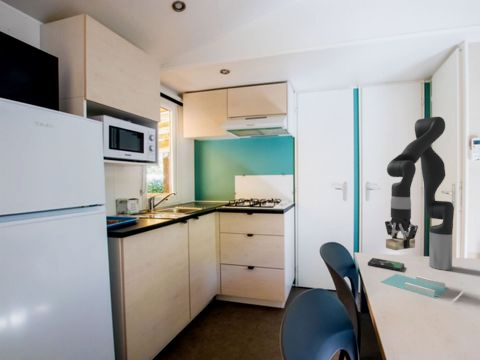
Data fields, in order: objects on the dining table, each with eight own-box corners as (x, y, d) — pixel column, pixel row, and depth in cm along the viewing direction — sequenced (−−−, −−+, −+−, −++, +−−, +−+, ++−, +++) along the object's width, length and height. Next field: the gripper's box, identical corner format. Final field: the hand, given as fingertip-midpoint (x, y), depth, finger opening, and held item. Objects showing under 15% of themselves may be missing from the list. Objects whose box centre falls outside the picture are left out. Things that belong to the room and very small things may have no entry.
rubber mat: (396, 274, 125) (396, 273, 125) (449, 289, 109) (449, 287, 109) (379, 283, 115) (379, 282, 115) (435, 300, 99) (435, 298, 99)
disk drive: (367, 267, 137) (401, 274, 127) (367, 262, 137) (401, 268, 127) (372, 262, 145) (404, 268, 135) (372, 257, 145) (404, 262, 135)
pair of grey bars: (417, 280, 117) (417, 275, 117) (445, 287, 109) (445, 283, 109) (404, 288, 109) (404, 283, 109) (433, 296, 101) (434, 291, 101)
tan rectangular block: (405, 245, 120) (405, 236, 120) (415, 247, 116) (415, 239, 116) (385, 247, 116) (385, 239, 116) (395, 250, 112) (395, 241, 112)
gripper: (423, 208, 111) (423, 250, 111) (391, 205, 124) (391, 242, 124) (410, 209, 108) (410, 252, 108) (380, 206, 121) (379, 244, 121)
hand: (400, 246), depth 116 cm, fingers closed on tan rectangular block, 4 cm apart
